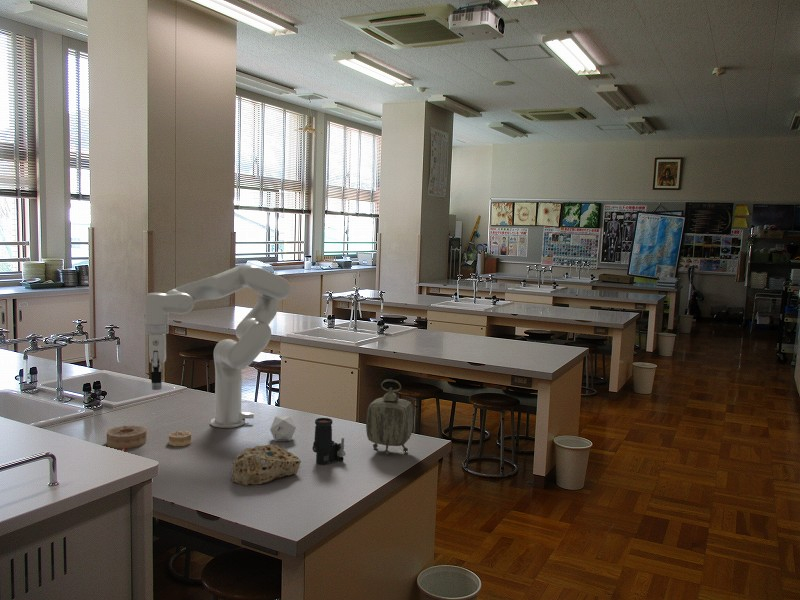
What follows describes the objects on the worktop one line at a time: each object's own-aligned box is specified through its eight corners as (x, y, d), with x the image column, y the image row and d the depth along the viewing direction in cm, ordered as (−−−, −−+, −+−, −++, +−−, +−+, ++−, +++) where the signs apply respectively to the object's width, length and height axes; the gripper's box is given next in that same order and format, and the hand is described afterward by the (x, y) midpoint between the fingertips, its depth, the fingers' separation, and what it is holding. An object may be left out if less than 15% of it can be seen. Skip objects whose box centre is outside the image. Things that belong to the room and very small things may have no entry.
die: (264, 440, 225) (265, 423, 219) (278, 422, 232) (280, 405, 225) (285, 451, 224) (287, 434, 217) (299, 433, 230) (301, 416, 224)
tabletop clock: (412, 451, 218) (415, 379, 216) (405, 460, 210) (408, 384, 207) (371, 446, 222) (374, 374, 220) (363, 454, 214) (365, 380, 211)
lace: (125, 448, 210) (125, 446, 210) (121, 457, 201) (121, 455, 201) (123, 448, 210) (123, 446, 209) (119, 457, 201) (119, 455, 201)
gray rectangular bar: (162, 387, 225) (162, 353, 224) (161, 389, 222) (161, 355, 220) (152, 387, 224) (152, 353, 223) (151, 390, 221) (151, 355, 219)
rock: (273, 463, 204) (281, 435, 203) (302, 487, 195) (310, 457, 194) (218, 473, 189) (226, 442, 187) (246, 499, 180) (255, 466, 178)
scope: (347, 419, 205) (323, 425, 197) (345, 461, 206) (322, 469, 199) (329, 413, 210) (305, 419, 202) (328, 455, 211) (304, 462, 204)
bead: (147, 435, 223) (147, 424, 222) (144, 447, 211) (144, 435, 211) (110, 437, 219) (110, 426, 219) (104, 449, 208) (104, 437, 208)
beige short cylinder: (191, 438, 222) (191, 430, 221) (190, 445, 215) (190, 436, 215) (169, 439, 220) (169, 431, 219) (168, 446, 213) (168, 437, 213)
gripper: (167, 332, 214) (166, 386, 216) (170, 325, 230) (170, 376, 231) (142, 332, 212) (142, 387, 214) (147, 325, 227) (147, 376, 229)
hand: (156, 381), depth 222 cm, fingers closed on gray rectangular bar, 3 cm apart
